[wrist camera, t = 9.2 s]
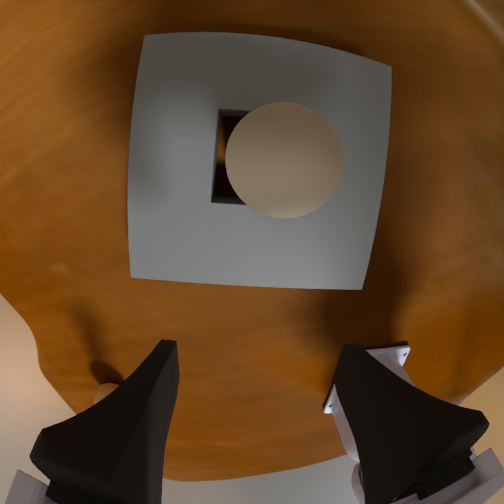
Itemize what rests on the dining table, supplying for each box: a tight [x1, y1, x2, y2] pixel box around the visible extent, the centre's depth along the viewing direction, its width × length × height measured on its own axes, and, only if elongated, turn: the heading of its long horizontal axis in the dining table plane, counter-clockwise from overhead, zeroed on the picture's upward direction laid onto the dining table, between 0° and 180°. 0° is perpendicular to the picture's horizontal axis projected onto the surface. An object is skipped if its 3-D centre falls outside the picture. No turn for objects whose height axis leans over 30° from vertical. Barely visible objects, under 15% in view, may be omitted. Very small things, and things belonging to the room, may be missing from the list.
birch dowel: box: [225, 102, 343, 218], centre depth 13 cm, size 4×4×10 cm
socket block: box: [128, 32, 392, 290], centre depth 17 cm, size 16×16×3 cm
